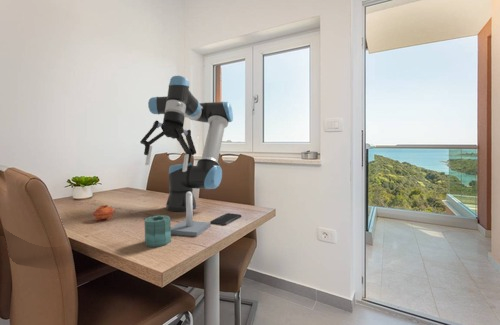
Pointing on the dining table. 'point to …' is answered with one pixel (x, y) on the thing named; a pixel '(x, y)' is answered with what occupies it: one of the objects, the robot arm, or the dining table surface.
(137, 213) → the dining table surface
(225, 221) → the phone
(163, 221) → the bead
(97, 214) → the pot
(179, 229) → the spindle plate
